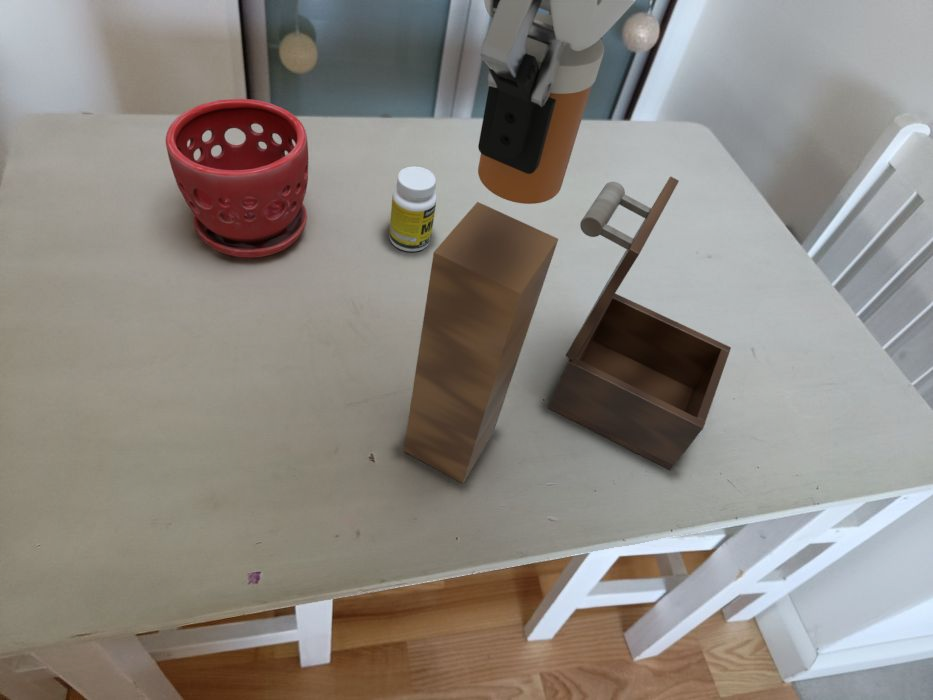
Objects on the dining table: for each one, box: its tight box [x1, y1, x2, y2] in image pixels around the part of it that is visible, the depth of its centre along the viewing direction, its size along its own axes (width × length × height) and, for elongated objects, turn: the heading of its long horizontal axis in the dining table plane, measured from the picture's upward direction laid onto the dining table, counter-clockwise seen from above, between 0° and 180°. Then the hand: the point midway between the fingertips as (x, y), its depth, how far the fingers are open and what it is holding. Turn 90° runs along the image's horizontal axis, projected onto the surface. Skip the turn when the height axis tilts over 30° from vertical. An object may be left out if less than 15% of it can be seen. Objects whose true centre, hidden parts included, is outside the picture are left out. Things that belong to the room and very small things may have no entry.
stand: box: [403, 201, 559, 484], centre depth 53 cm, size 6×6×24 cm
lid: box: [565, 176, 680, 360], centre depth 58 cm, size 14×11×5 cm
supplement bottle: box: [388, 166, 438, 252], centre depth 74 cm, size 5×5×8 cm
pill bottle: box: [477, 13, 605, 205], centre depth 36 cm, size 5×5×8 cm
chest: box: [547, 292, 732, 471], centre depth 65 cm, size 13×11×7 cm
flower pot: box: [165, 98, 309, 259], centre depth 70 cm, size 13×13×12 cm
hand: (530, 133), depth 37 cm, fingers closed on pill bottle, 4 cm apart
